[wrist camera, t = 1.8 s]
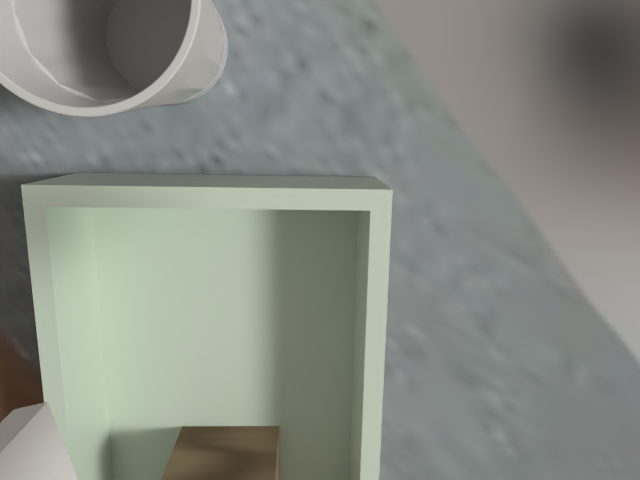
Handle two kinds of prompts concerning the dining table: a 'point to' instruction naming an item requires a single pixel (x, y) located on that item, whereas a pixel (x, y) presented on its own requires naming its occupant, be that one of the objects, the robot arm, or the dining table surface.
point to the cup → (110, 53)
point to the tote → (211, 315)
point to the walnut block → (225, 453)
